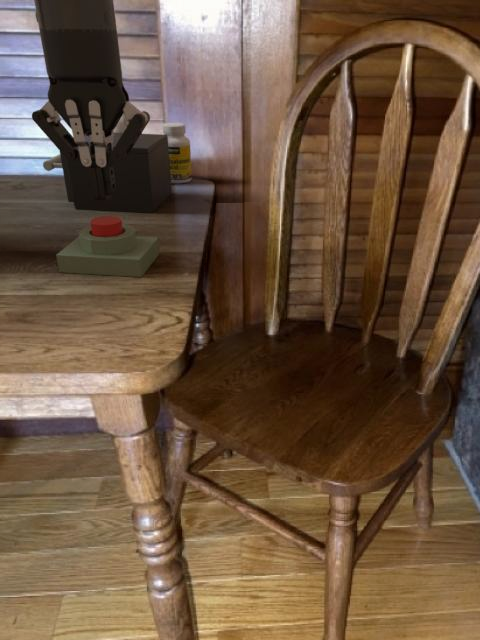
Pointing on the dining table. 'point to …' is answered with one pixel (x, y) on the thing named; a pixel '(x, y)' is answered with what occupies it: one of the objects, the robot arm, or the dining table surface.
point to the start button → (106, 226)
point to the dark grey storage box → (130, 178)
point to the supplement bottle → (178, 152)
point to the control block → (109, 254)
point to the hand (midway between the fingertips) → (103, 198)
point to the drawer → (61, 162)
